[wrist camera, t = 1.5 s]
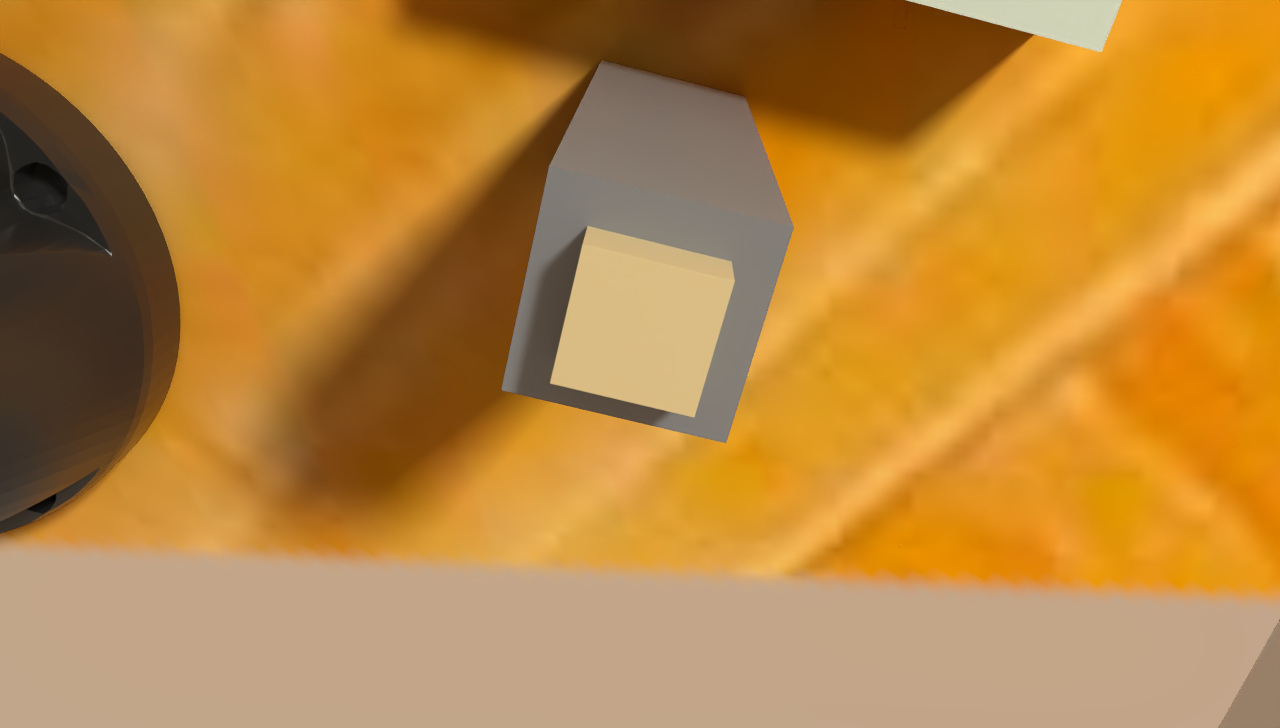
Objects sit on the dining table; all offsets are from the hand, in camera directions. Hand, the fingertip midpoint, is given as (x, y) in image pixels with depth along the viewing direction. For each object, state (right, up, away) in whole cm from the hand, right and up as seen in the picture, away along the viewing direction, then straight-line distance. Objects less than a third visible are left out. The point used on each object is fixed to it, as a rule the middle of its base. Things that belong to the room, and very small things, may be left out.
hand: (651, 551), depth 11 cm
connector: (0, +8, +19) cm, 21 cm away
